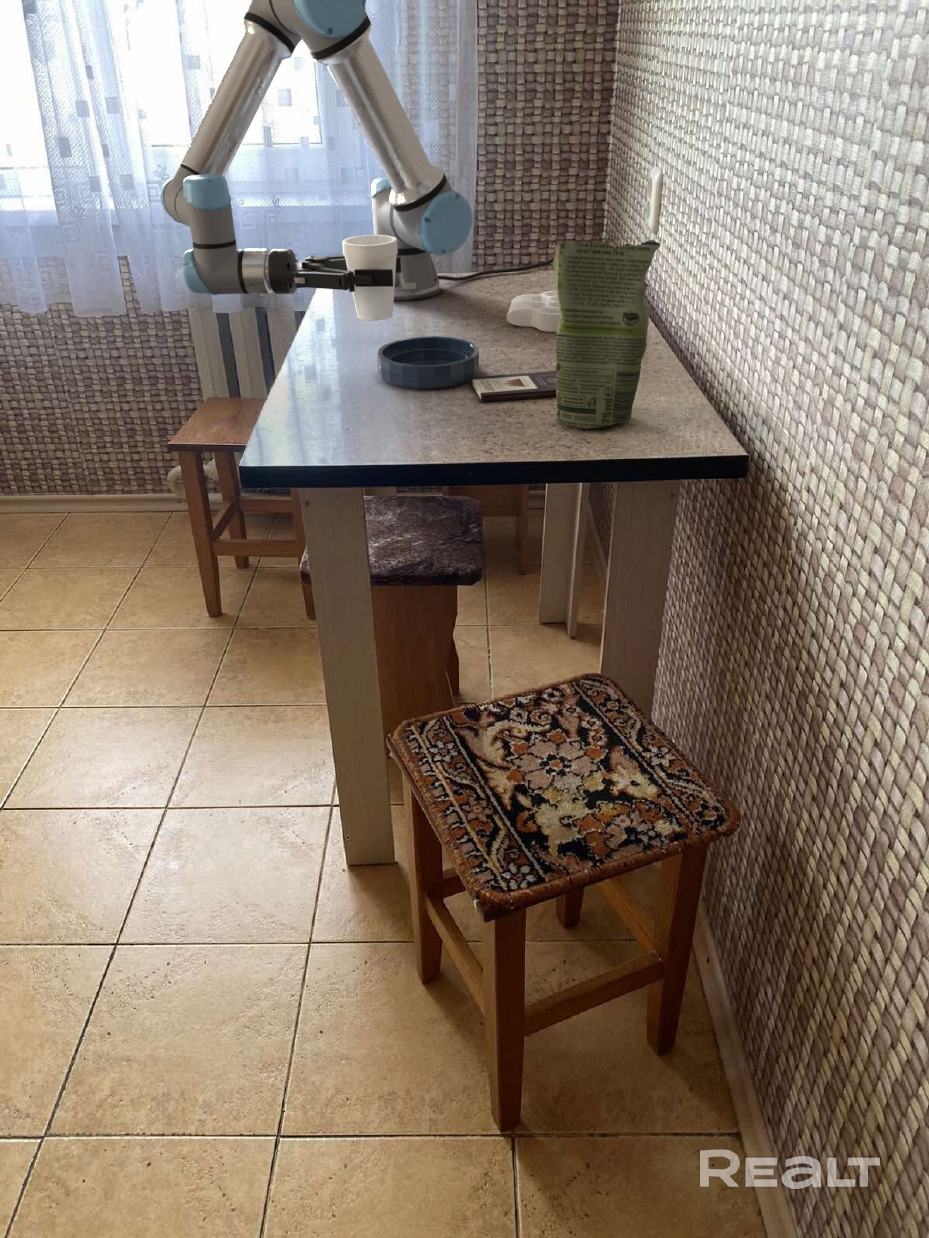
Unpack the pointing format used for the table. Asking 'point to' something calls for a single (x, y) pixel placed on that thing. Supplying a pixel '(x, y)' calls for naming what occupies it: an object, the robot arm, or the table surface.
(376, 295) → the foam cup
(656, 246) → the pouch
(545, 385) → the chocolate bar
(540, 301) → the white brass knuckles
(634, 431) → the table surface
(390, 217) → the robot arm
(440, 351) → the bowl
